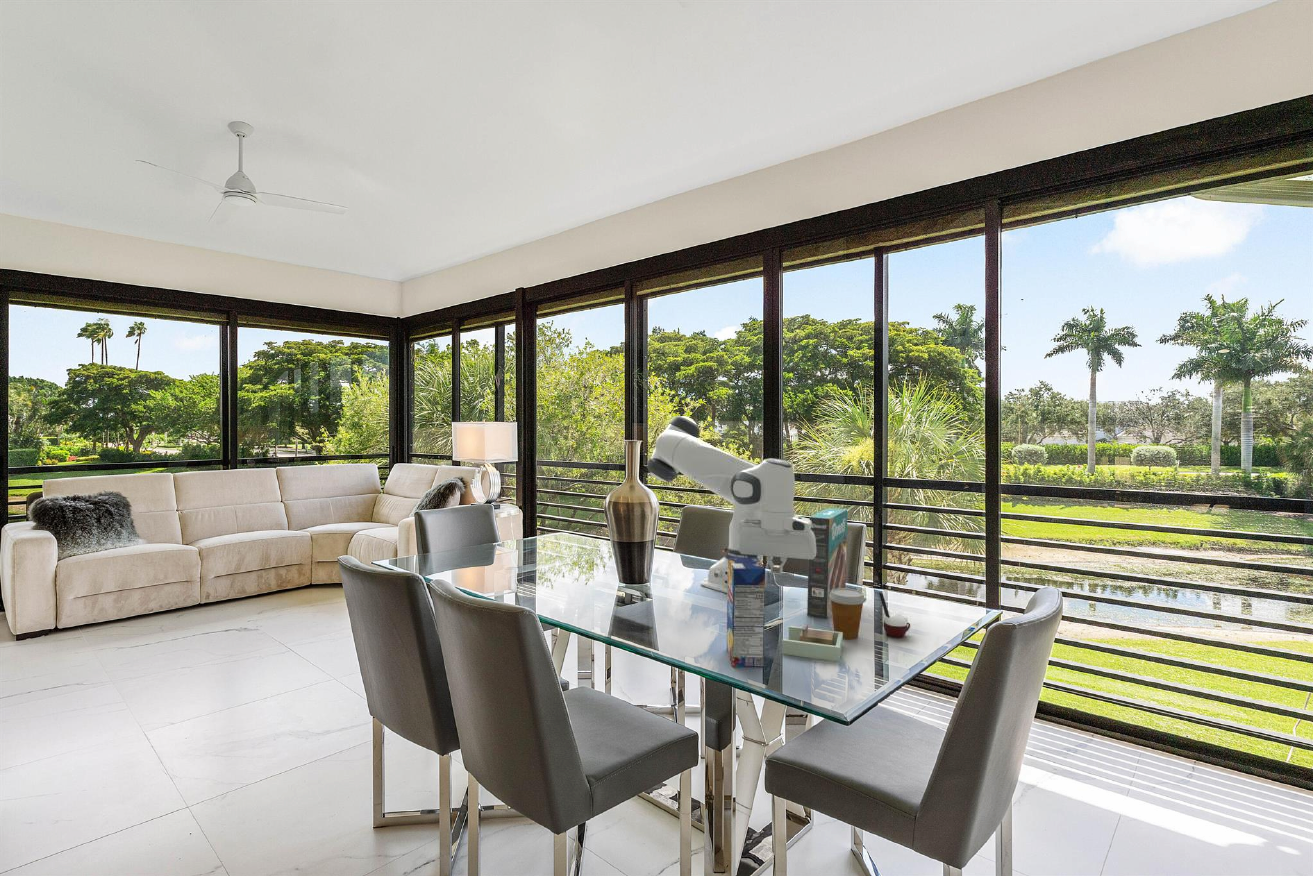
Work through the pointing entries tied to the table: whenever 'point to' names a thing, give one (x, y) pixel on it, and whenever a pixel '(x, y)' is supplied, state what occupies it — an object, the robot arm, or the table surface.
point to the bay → (812, 646)
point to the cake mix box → (827, 560)
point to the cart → (816, 636)
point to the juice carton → (745, 612)
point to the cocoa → (894, 621)
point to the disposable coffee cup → (846, 611)
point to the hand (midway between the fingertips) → (776, 573)
